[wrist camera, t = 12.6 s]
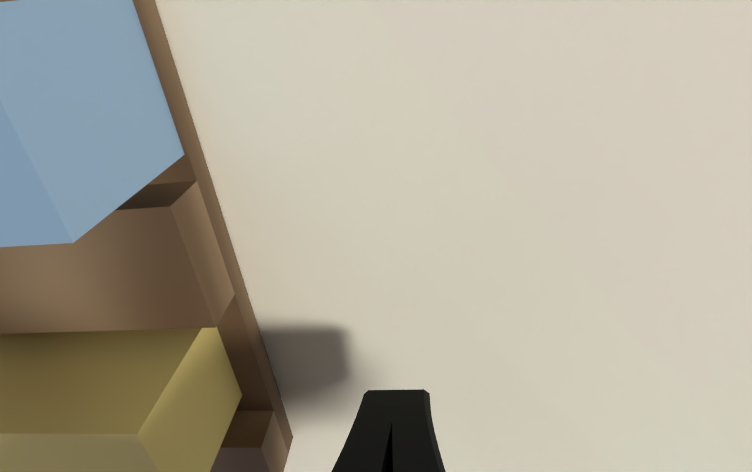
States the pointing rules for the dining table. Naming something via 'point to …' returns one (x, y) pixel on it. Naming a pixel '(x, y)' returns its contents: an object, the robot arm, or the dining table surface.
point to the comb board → (158, 277)
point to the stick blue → (76, 117)
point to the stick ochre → (114, 400)
